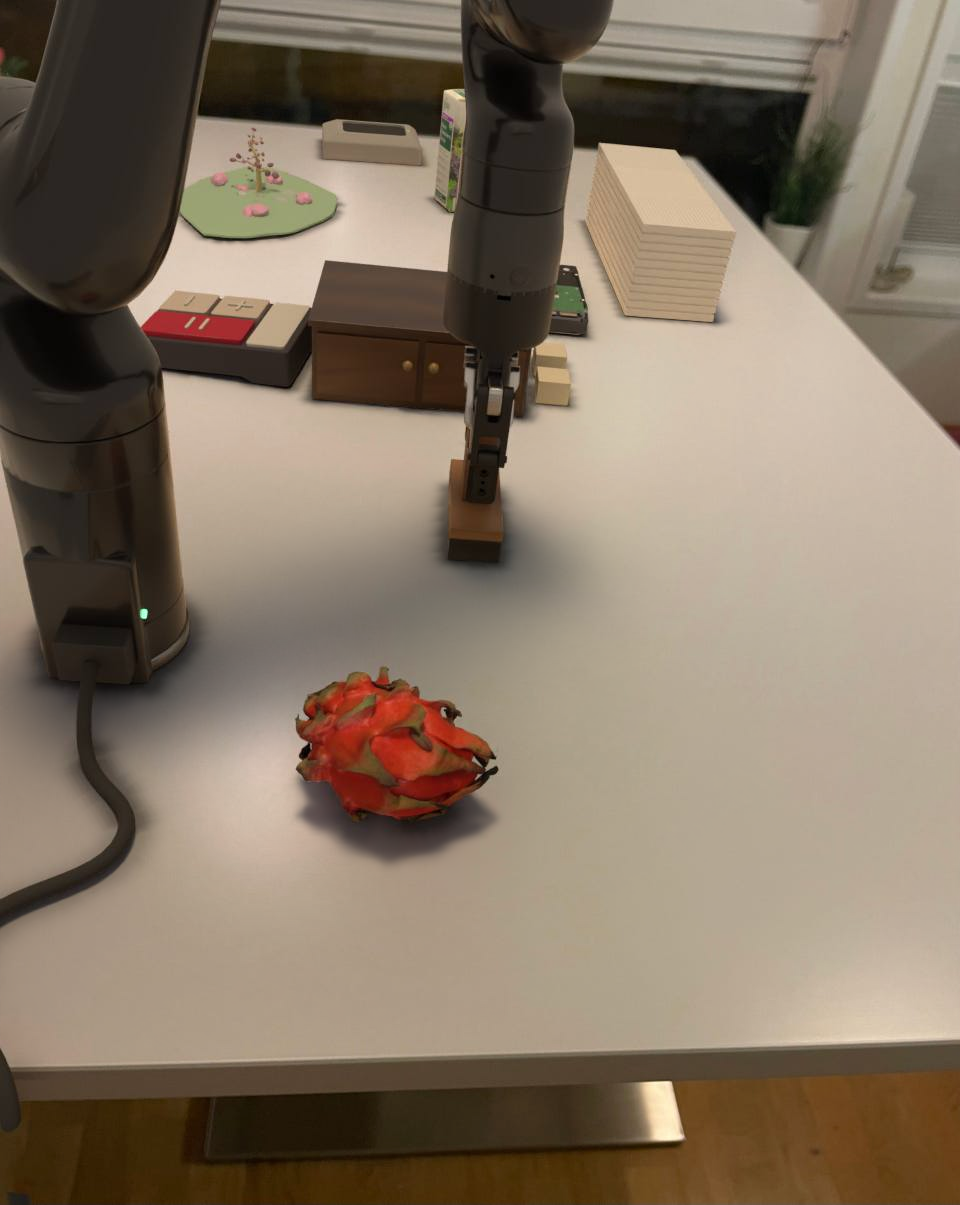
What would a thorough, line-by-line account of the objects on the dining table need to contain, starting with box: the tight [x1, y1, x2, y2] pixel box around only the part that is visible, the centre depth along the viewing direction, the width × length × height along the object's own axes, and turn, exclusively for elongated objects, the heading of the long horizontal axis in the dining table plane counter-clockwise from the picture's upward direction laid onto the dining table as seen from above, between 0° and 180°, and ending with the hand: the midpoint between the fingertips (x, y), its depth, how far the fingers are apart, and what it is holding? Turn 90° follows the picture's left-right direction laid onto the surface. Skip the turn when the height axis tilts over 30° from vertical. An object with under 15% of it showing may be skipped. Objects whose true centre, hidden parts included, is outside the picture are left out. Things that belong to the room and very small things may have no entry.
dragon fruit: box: [294, 666, 500, 823], centre depth 58 cm, size 8×8×12 cm
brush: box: [446, 427, 504, 564], centre depth 79 cm, size 10×4×9 cm, turn 1°
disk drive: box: [549, 264, 589, 336], centre depth 118 cm, size 10×3×15 cm
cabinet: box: [308, 259, 533, 417], centre depth 99 cm, size 15×21×8 cm
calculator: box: [140, 290, 312, 387], centre depth 100 cm, size 11×4×15 cm
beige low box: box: [321, 118, 423, 166], centre depth 158 cm, size 10×4×15 cm
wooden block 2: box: [533, 367, 572, 407], centre depth 100 cm, size 3×3×2 cm
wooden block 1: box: [531, 341, 568, 377], centre depth 105 cm, size 3×3×2 cm
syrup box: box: [434, 88, 466, 213], centre depth 140 cm, size 6×6×14 cm
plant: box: [179, 127, 338, 239], centre depth 132 cm, size 25×21×9 cm
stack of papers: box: [585, 142, 737, 323], centre depth 129 cm, size 32×11×11 cm, turn 4°
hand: (478, 470), depth 79 cm, fingers open, 8 cm apart
